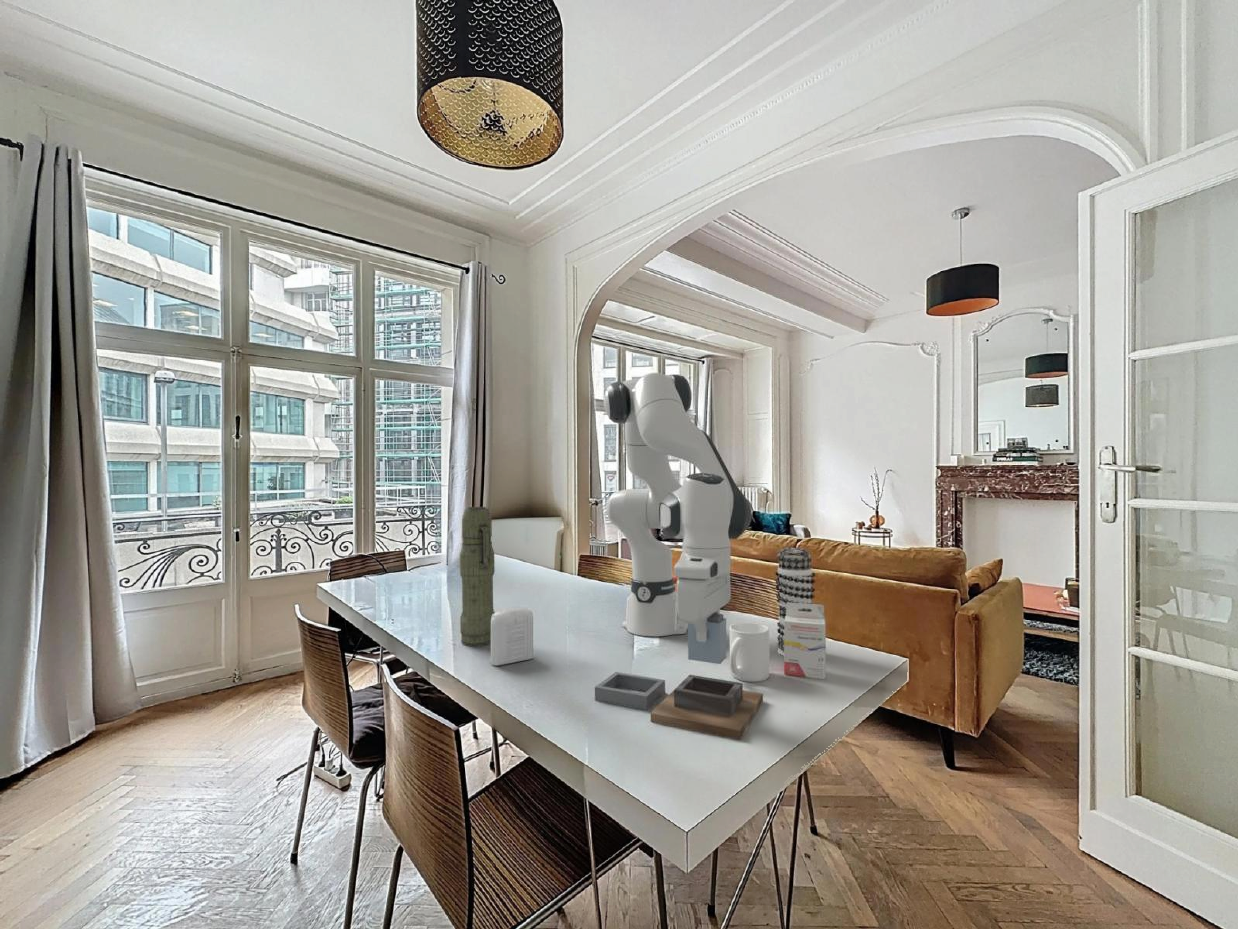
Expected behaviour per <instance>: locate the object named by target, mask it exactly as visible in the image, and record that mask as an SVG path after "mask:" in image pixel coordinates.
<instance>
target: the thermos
mask: <svg viewBox="0 0 1238 929" xmlns="http://www.w3.org/2000/svg"><path fill="white" fill-rule="evenodd" d="M492 521H493V520H492V515H491V512H490V509H489V508H487V507H486V506H470V507H469V506H468V507H467V508H465V509H464V512H463V515H462V518H461V538H462V544H461V545H462V547H461V550H460V553H459V574H460V577H461V593H462V594H461V596H462V597H461V598H462V599H461V601H462V602H461V603H462V606H461V608H462V610H461V611H462V612H461V614H460V618H459V619H460V620H459V622H460V630H459V632H460V636H461V640H460V642H461V644H462V643H463V644H462V645H464V644H465V646H468V645H470V646H471V647H473V646H474V647H477V645H479V646H484V644H486V645H488V644H487V643H489V644H491V616H492V615H493V614H494V613H496V612H495V610H494V575H495V568H496V567H495V551H494V548H493V541H492V537H493V535H492V534H493V528H492ZM472 645H473V646H472ZM470 646H469V647H470Z"/></svg>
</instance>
